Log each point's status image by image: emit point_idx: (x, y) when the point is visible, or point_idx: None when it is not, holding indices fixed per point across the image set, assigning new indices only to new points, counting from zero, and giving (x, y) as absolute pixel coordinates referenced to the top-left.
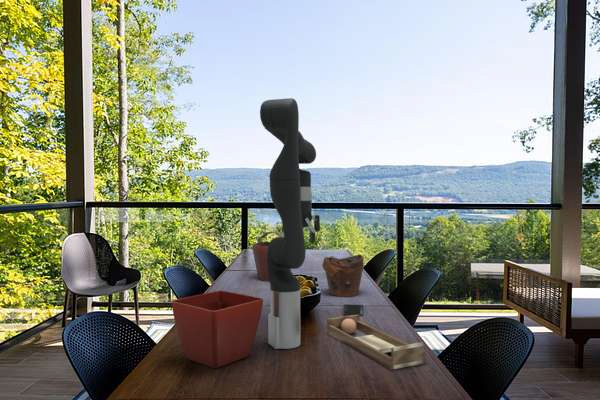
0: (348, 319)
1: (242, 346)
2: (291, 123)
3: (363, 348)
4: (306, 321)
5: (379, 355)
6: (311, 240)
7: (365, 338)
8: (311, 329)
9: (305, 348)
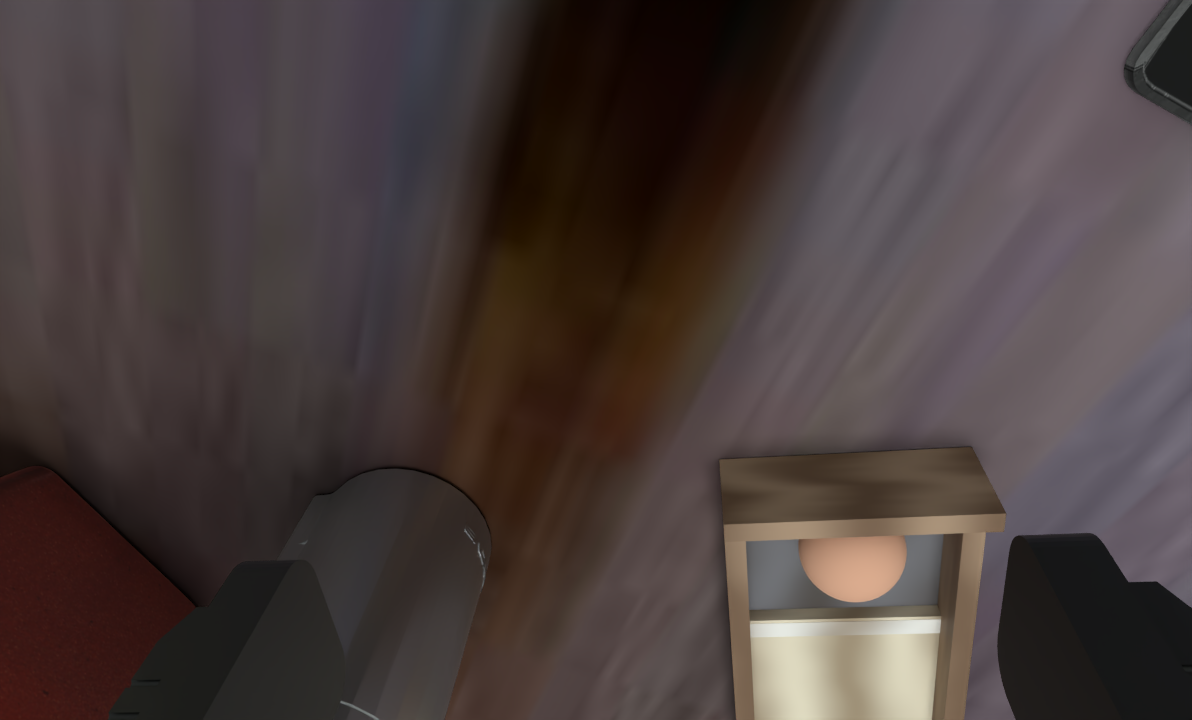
0: (852, 591)
1: None
2: None
3: None
4: (701, 137)
5: None
6: (1032, 702)
7: (860, 650)
8: (655, 345)
9: (499, 611)
